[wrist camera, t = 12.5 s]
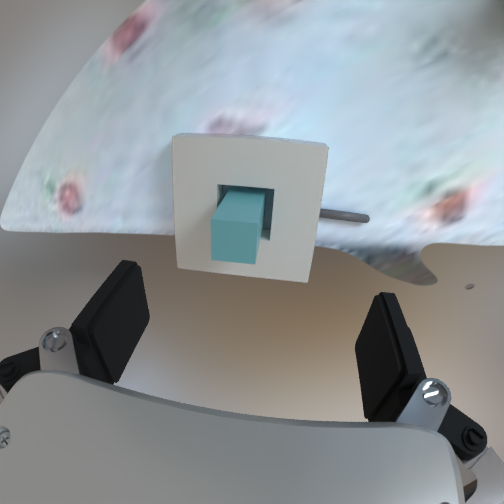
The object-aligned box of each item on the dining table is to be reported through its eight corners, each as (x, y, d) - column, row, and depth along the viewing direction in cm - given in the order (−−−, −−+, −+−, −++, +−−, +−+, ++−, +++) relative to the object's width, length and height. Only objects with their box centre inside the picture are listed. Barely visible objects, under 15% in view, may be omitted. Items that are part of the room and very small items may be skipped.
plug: (266, 188, 33) (257, 223, 25) (263, 221, 35) (255, 264, 27) (231, 186, 34) (210, 219, 25) (230, 218, 36) (211, 260, 27)
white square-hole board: (380, 152, 30) (389, 157, 27) (354, 274, 37) (358, 287, 35) (181, 133, 31) (172, 136, 29) (184, 256, 39) (177, 268, 36)
